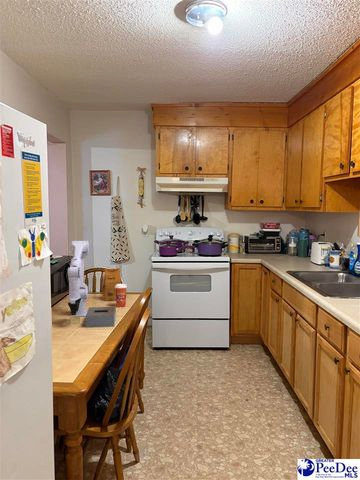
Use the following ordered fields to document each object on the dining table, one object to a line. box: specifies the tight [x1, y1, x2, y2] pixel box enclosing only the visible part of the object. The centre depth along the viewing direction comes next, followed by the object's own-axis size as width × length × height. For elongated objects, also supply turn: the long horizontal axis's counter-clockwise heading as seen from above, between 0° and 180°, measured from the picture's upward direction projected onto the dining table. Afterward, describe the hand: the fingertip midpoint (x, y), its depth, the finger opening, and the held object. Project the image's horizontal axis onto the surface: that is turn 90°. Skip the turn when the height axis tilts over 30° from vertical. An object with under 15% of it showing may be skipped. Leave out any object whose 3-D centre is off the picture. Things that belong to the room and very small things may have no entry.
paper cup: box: [115, 283, 128, 308], centre depth 227 cm, size 8×8×14 cm
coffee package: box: [102, 267, 122, 302], centre depth 243 cm, size 10×12×22 cm
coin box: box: [84, 306, 117, 328], centre depth 195 cm, size 17×15×6 cm
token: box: [69, 315, 81, 325], centre depth 192 cm, size 2×5×4 cm, turn 98°
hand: (75, 313), depth 192 cm, fingers open, 7 cm apart
